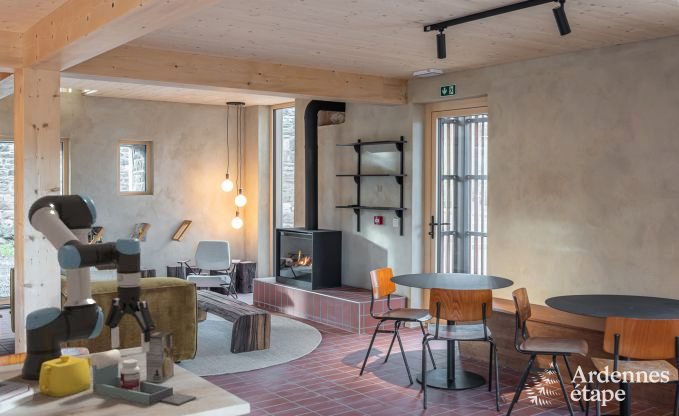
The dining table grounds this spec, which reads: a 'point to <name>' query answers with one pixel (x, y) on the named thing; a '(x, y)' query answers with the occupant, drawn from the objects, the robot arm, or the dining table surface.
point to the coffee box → (160, 357)
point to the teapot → (65, 376)
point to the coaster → (177, 399)
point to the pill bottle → (130, 375)
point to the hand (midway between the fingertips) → (130, 349)
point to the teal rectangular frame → (108, 379)
